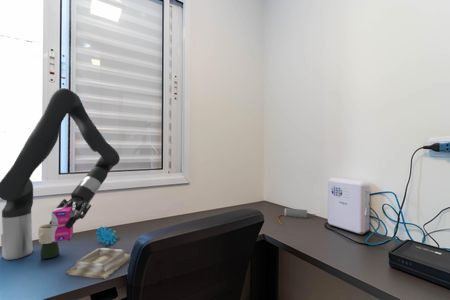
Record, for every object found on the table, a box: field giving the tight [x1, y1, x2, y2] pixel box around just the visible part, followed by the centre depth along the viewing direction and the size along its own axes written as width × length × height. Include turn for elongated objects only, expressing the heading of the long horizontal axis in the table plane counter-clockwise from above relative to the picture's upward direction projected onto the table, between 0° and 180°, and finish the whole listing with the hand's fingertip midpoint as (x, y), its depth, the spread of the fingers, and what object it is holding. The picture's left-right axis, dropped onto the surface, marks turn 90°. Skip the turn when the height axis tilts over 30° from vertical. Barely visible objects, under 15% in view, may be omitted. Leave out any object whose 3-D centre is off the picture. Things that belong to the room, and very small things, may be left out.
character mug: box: [37, 223, 60, 259], centre depth 96 cm, size 11×7×13 cm, turn 2°
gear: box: [95, 226, 117, 246], centre depth 110 cm, size 11×6×10 cm
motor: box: [277, 207, 316, 225], centre depth 138 cm, size 23×22×5 cm
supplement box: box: [51, 207, 74, 243], centre depth 88 cm, size 6×6×12 cm
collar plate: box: [65, 247, 131, 280], centre depth 89 cm, size 16×16×4 cm
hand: (59, 226), depth 86 cm, fingers closed on supplement box, 8 cm apart
